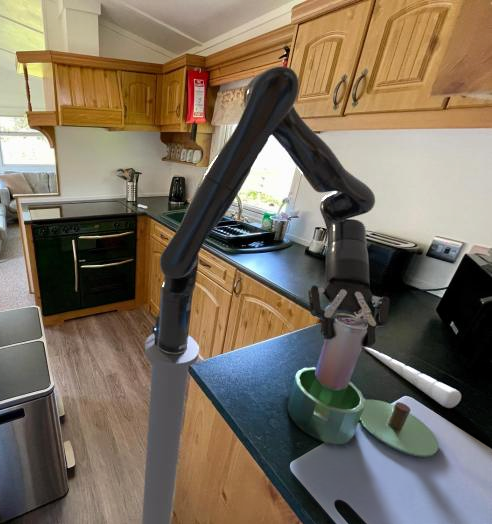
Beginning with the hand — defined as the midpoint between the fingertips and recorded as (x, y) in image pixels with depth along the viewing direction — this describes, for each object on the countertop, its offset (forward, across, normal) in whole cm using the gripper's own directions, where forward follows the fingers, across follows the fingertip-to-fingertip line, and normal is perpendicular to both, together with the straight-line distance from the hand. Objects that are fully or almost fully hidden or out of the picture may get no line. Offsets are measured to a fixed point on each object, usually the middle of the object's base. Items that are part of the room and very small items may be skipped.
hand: (347, 342), depth 56 cm
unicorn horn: (-3, +25, +33) cm, 42 cm away
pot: (+14, 0, +16) cm, 21 cm away
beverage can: (+7, 0, +9) cm, 11 cm away
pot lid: (+11, +15, +18) cm, 26 cm away
